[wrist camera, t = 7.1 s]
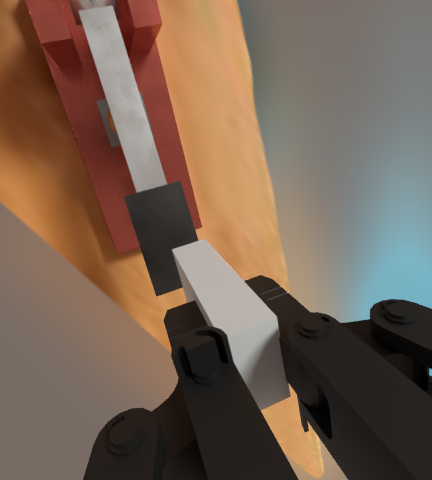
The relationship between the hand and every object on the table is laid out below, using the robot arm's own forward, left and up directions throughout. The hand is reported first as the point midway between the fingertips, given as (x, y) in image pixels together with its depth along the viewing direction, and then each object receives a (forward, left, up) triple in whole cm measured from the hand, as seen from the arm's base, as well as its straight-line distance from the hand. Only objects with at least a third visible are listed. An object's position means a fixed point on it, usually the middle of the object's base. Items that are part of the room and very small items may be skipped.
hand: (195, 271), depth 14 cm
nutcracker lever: (-5, 0, -15) cm, 15 cm away
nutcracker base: (-7, 0, -24) cm, 25 cm away
